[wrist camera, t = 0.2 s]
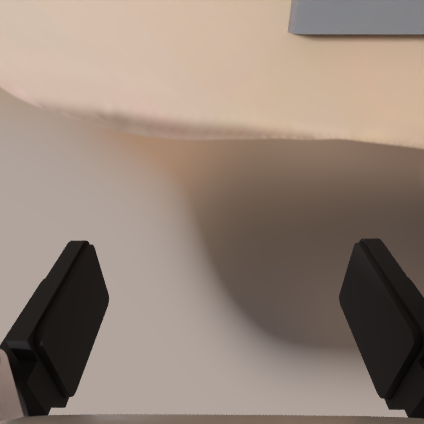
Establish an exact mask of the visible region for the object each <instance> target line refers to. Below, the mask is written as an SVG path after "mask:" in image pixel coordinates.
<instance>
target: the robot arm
mask: <svg viewBox="0 0 424 424" xmlns="http://www.w3.org/2000/svg"><path fill="white" fill-rule="evenodd" d="M339 301H340V305H341V307H342V310H343V312H344V315H345V317H346V319H347V322H348V324H349V327H350V329H351V331H352V333H353V336H354V339H355V341H356V343H357V346H358V348H359V350H360V353H361V355H362V357H363V360H364V363H365V365H366V367H367V370H368V372H369V375H370V377H371V379H372V382H373V384H374V386H375V389H376V391H377V393H378V395H379V397H380V398H384V399H385V401H386V404H387V406H388V408H389V409H391V410H393V409H394V410H396V409H397V410H402V409H403V410H405V412H406V414H407V416H408V418H404V417H370V416H304V415H303V416H301V415H298V416H297V415H295V416H294V415H141V414H140V415H138V414H135V415H132V414H130V415H129V414H126V415H124V414H123V415H121V414H120V415H119V414H117V415H115V414H113V415H112V414H111V415H110V414H108V415H107V414H98V415H48V414H49V411H50V409H51V407H53V408H55V407H56V408H64V407H66V404H67V402H68V399H69V397H72V396H74V394H75V392H76V390H77V388H78V385H79V382H80V379H81V377H82V374H83V371H84V369H85V366H86V363H87V360H88V358H89V355H90V352H91V350H92V347H93V344H94V342H95V339H96V336H97V334H98V331H99V328H100V325H101V323H102V320H103V317H104V315H105V312H106V309H107V307H108V303H109V295H108V291H107V288H106V285H105V281H104V278H103V275H102V271H101V268H100V265H99V261H98V258H97V255H96V251H95V248H94V246H93V245H90V244H89V242H88V241H70V242H69V243H68V244H67V246H66V247H65V249H64V250H63V252H62V254H61V255H60V257H59V258H58V260H57V261H56V263H55V264H54V266H53V268H52V269H51V271H50V272H49V274H48V275H47V277H46V278H45V279H44V280H43V281H42V282H41V283H40V284H39V286H38V288H37V289H36V291H35V292H34V294H33V295H32V297H31V298H30V300H29V302H28V303H27V305H26V306H25V308H24V309H23V311H22V312H21V314H20V315H19V317H18V319H17V320H16V322H15V323H14V325H13V326H12V328H11V330H10V331H9V332H8V334H7V335H6V337H5V339H4V340H3V342H2V343H1V345H0V424H424V298H423V296H422V295H421V293H420V292H419V291H418V289H417V288H416V286H415V285H414V284H413V282H412V281H411V280H410V279H409V278H408V277H407V276H406V274H405V273H404V272H403V270H402V269H401V267H400V266H399V264H398V263H397V262H396V260H395V259H394V257H393V256H392V255H391V253H390V252H389V250H388V249H387V247H386V246H385V245H384V243H383V242H382V241H381V240H380V239H361V240H360V242H359V243H356V244H355V245H354V248H353V251H352V255H351V258H350V261H349V264H348V268H347V271H346V275H345V278H344V282H343V285H342V288H341V291H340V295H339Z"/></svg>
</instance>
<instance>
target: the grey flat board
mask: <svg viewBox="0 0 424 424" xmlns="http://www.w3.org/2000/svg"><path fill="white" fill-rule="evenodd" d="M288 32H289V33H292V34H424V0H292V3H291V11H290V20H289V28H288Z"/></svg>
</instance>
